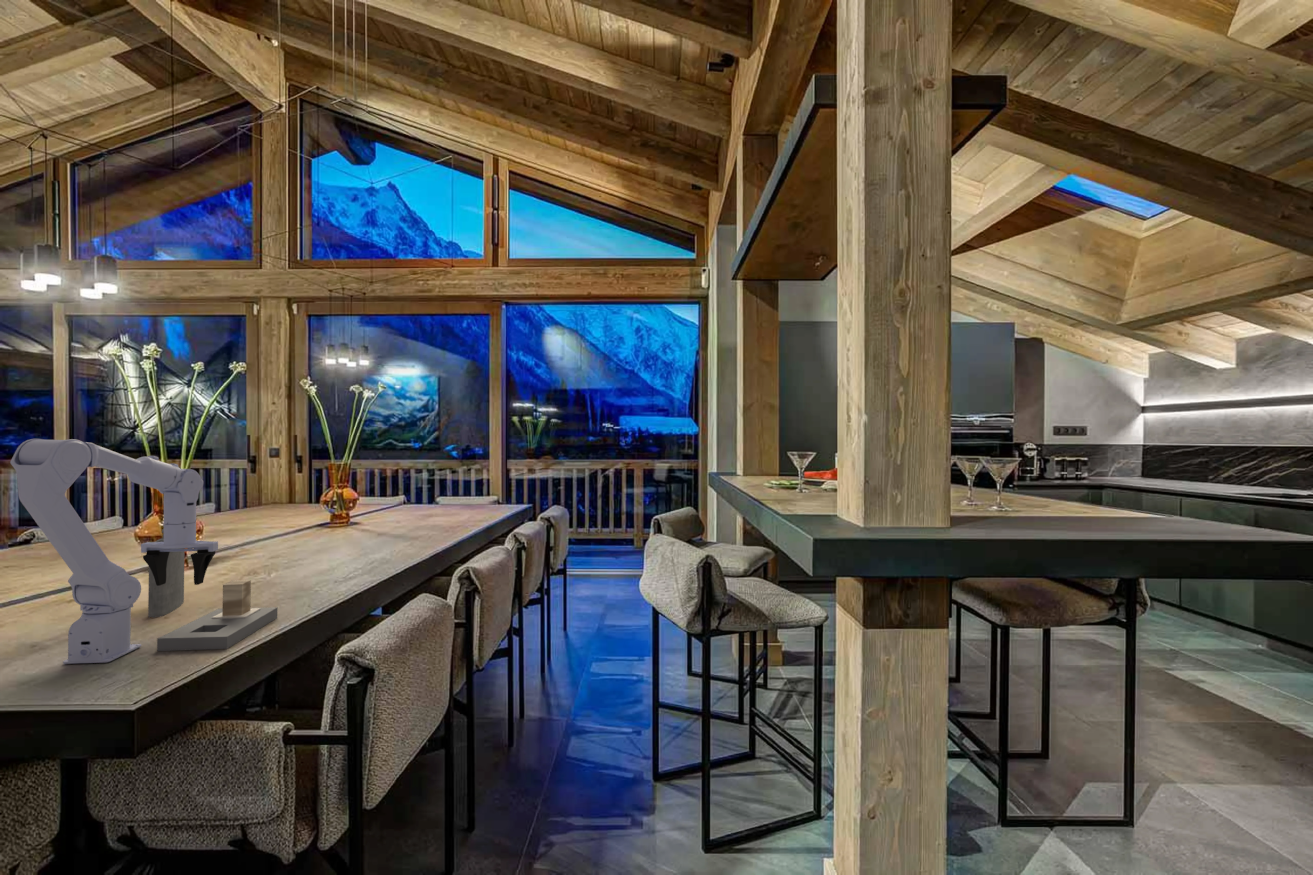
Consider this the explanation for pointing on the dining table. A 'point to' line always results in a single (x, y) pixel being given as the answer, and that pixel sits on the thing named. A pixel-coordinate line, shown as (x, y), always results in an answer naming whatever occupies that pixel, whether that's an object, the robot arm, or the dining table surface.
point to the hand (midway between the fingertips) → (180, 584)
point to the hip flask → (167, 586)
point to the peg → (236, 597)
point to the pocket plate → (216, 630)
